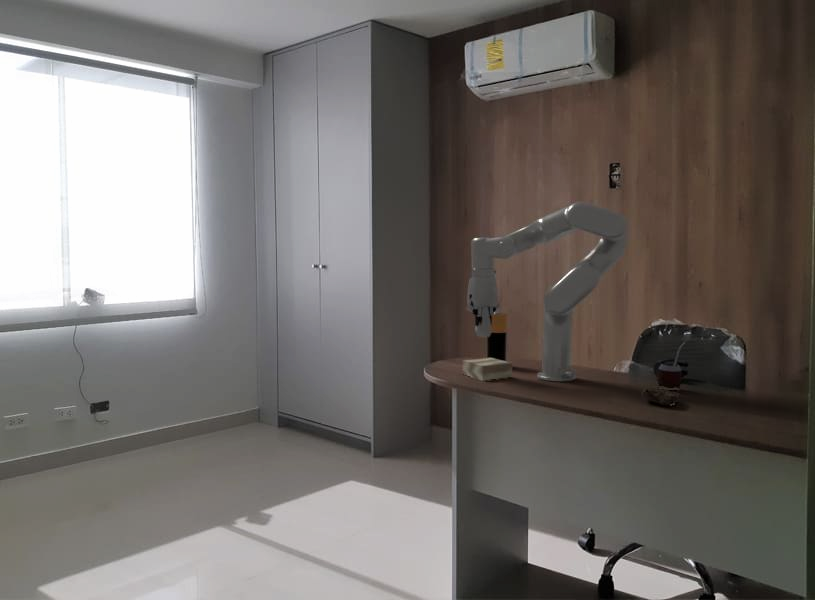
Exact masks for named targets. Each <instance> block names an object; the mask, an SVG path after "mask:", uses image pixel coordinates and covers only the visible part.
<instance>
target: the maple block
mask: <svg viewBox="0 0 815 600" xmlns="http://www.w3.org/2000/svg"><path fill="white" fill-rule="evenodd" d="M461 370H462V374H464V375H463V376H465V375H467V376H466V377H468V376H470V377H469V378H472V379H475V380H479V381H482V382H486V380H487V381H492V380H491V379H496V380H498V379H497V378H505V379H508V378H507V377H512V378H513V363H512V362H510V361H507V360H506V361H502V360H498V359H494V358H487V357H482V358H474V359H463V360H462V369H461Z"/></svg>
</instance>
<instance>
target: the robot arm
mask: <svg viewBox="0 0 815 600" xmlns="http://www.w3.org/2000/svg"><path fill="white" fill-rule="evenodd" d="M578 230H581V231H584V232H586V233H590V234H593V235H596V236H597V237H598V236H599V237H600V238H599V241H598V243H597V244H596V246H594V247H593V248H592V250H590V252H589V253H588V254H586V255H585V257H583V258H582V259H580V261H578V262H577V263H576V264H574V265H572V267H571V268H570V269H569V272H568V273H566V274H565V276H563V277H562V278H561V279H560V280H559V281H558V282H557V283H556V284H553V285H551V286H549V287H548V288H547V289H546V291H545V293H544V295H543V321H542V322H543V325H542V326H543V329H542V359H541V360H542V362H541V363H542V364H541V366H542V367H541V371H540V372H538V373H537V374H536V375H537V376H536V377H537V378H538V379H540V380H542V381H543V380H544V381H549V382H550V381H551V382H571V381H574V380H576V376H578V371H575V370H574V366H573V365H572V349H573V347H572V345H573V343H572V342H573V322H574V321H573V316H574V315H573V313H574V312H573V311H574V309H576V307H577V306H578V305H579V304H580V303H582V302H583V301H584V300H585V299H587V298H588V296H589V295H590V294H592V292H594V291H595V289H596V288H597V287H598V286H599V283H600V280H601V278H603V276H604V275H605V274H606V273H608V272H609V271H610V269H611V268H612V267H614V265H616V264H617V263H618V261H619V260H620V259H621V258H622V256H623V255H624V252H625V250H626V245H627V233H628V231H629V222H628V220H627V218H626V217H625V216H624V215H622V214H620V213H617V212H615V211H613V210H612V211H611V210H608V209H605V208H603V207H599V206H596V205H592V204H591V203H587V202H584V201H577V202H573V203H572V204H570V205H568V206H566V207H564V208H561V209H559V210H556V211H554V212H551V213H550V214H547V215H545V216H543V217H540V218H538V219H536V220H534V221H533V222H531V223H530V224H529V225H527V226H524V227H523V228H521V229H518V230H516V231H514V232H512V233H509V234H507V235H505V236H499V237H475V238H473V239H472V240H471V245H470V246H471V247H470V248H471V278H469V280H468V286H467V296H466V297H467V300H466V301H467V302H466V303H467V306H466V310H467V311H469V312H470V313H472V314H473V316H474V319H475V323H474V324H475V326H478V325H479V322H480V325H481V323H482V317H480V316H481V307H488V309H489V315H490V322H491V326H492V316H493V313H494V312H497V310H498V309H499V308H500V307H501V304H500V303H499V302H500V301H499V291H498V283H497V279H496V277H495V275H496V274H497V270H496V269H495V259H502V260H503V259H504V260H506V259H511V258H512V257H514V256H517V255H518V254H521V253H523V252H526V251H528V250H531V249H533V248H535V247H538V246H542V245H546V244H548V243H550V242H553V241H556V240H557V239H561V238H562V237H564V236H565V237H566V236H567V235H569V234H572V233H574V232H577V231H578Z"/></svg>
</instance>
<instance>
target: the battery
mask: <svg viewBox="0 0 815 600" xmlns="http://www.w3.org/2000/svg"><path fill="white" fill-rule="evenodd" d="M507 335H508V313H507V312H502V311H495V312H494V313H493V316H492V332H491V335H490V337H486V358H494V359H498V360H502V361H506V362H507V343H508V342H507V339H508V338H507V337H508V336H507Z"/></svg>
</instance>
